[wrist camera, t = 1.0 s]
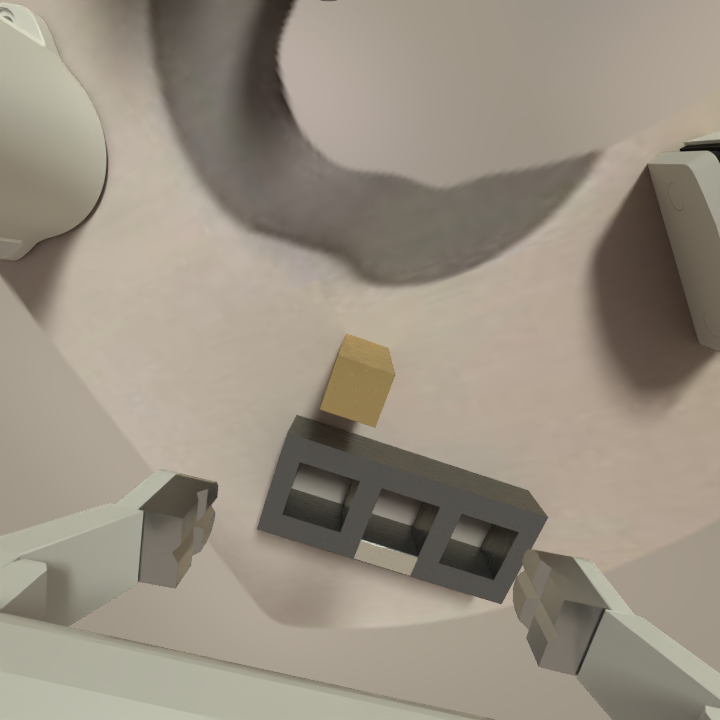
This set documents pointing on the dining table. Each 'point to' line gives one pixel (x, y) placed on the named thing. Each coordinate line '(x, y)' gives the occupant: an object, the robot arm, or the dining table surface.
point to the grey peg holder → (393, 539)
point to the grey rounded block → (694, 226)
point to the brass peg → (359, 381)
